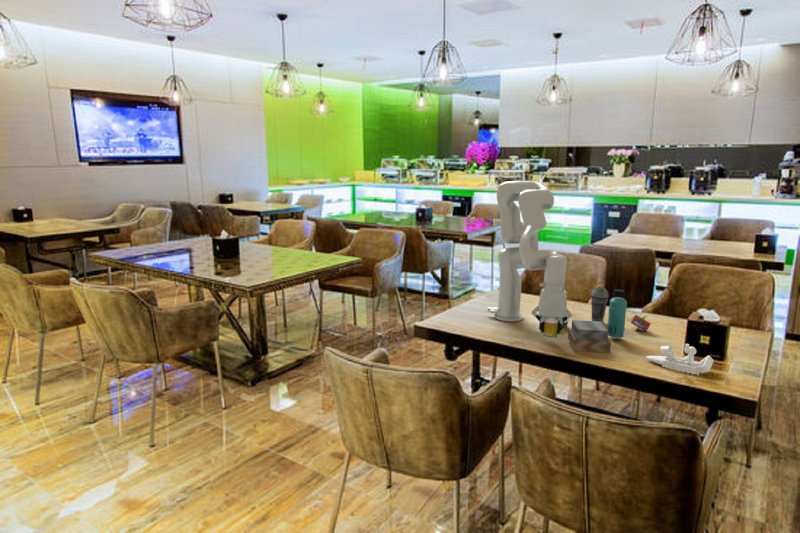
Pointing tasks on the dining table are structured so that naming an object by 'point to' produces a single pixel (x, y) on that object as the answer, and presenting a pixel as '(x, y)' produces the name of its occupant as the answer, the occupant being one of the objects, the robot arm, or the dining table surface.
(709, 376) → the dining table surface
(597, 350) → the mottled stone block
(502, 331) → the dining table surface
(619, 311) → the beverage bottle
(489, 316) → the dining table surface
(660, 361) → the toy boat
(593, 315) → the beverage cup
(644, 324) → the geometric puzzle
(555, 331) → the supplement bottle
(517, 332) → the dining table surface
